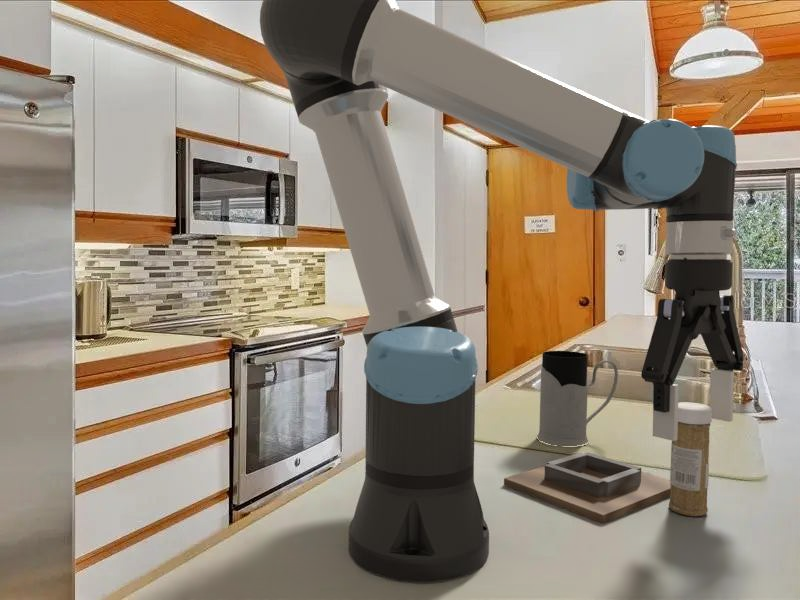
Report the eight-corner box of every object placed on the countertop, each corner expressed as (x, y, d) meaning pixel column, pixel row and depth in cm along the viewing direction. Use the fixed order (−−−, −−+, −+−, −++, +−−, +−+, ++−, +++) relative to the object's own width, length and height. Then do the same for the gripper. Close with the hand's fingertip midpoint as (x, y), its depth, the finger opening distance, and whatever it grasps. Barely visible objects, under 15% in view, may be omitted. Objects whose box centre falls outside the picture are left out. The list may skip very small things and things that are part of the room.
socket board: (603, 523, 78) (604, 498, 78) (503, 485, 91) (504, 463, 91) (682, 490, 89) (682, 469, 89) (583, 460, 102) (584, 441, 102)
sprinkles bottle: (715, 512, 82) (719, 406, 81) (693, 520, 79) (698, 411, 78) (681, 501, 86) (686, 399, 85) (660, 508, 83) (664, 403, 82)
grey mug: (528, 434, 117) (530, 350, 116) (602, 431, 119) (605, 349, 118) (548, 448, 108) (551, 358, 107) (628, 445, 111) (631, 357, 110)
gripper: (673, 258, 70) (668, 454, 71) (775, 256, 85) (770, 417, 87) (611, 258, 76) (608, 439, 77) (717, 256, 91) (713, 407, 92)
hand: (694, 428), depth 82 cm, fingers open, 13 cm apart
